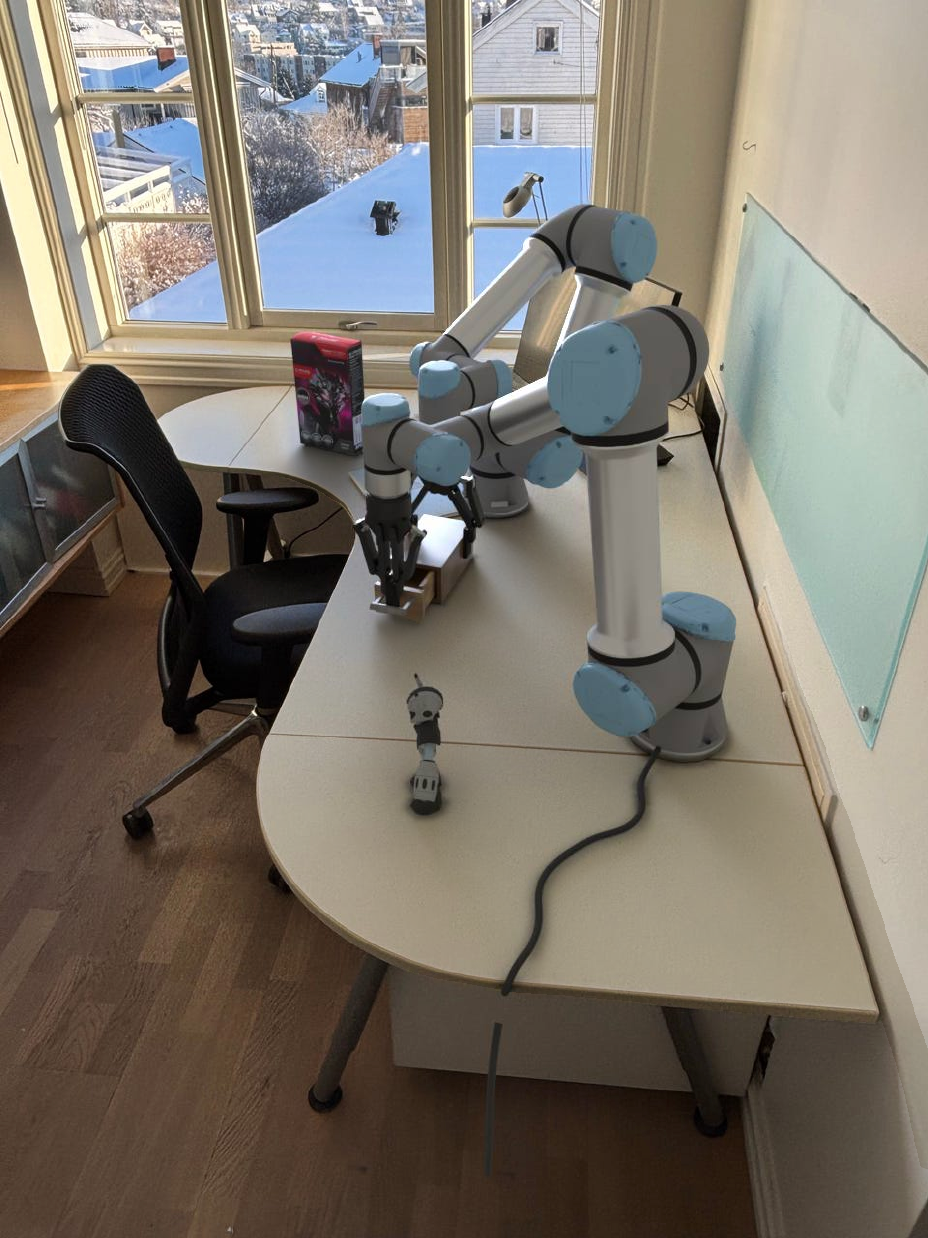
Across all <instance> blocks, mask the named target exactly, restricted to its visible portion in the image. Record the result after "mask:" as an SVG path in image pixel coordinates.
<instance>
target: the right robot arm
mask: <svg viewBox="0 0 928 1238" xmlns="http://www.w3.org/2000/svg"><path fill="white" fill-rule="evenodd" d="M555 350H556V349H555ZM709 360H710V342H709V338H708V335H707V332H706V330H705V328H704V327H703V325H702V323H701V322H700V320H698V318H697V317H696V316H694V314H693V313H691V312H689V311H688V310H686V309H684V308H682V307H679V306H676V305H673V304H672V305H671V304H655V305H650V306H646V307H644V308H641V309H640V310H639V309H638V310H636V311H635V310H634V311H633V312H629V313H626V314H622V315H619V316H614V317H613V318H611V319H608V320H604V321H600V322H599V321H597V322H594V323H593V324H590V325H588V326H587V327H585V328H583V329H581V330H579V331H577V332H575V333H573V334H571V335H570V336H569V337H567V338H566V339H565V340H564V341H563V342H562V343H561V345H560V346H559V348H558V349H557V350H556V352H555V351H554V353H553V355H552V358H551V360H550V363H549V366H548V370H547V373H548V376H547V375H546V376H544V377H543V378H539V379H538V380H536V381H534V382H532V383H530V384H527V385H526V386H523V387H521V388H519V389H517V390H514V391H512V392H511V393H510V394H508V395H506V396H504V397H502V398H500V399H498V400H496V401H493V402H491V403H489V404H487V405H485V406H483V407H480V408H478V409H475V410H473V411H472V410H469V411H467V412H465V413H463V414H460V415H459V416H456V417H454V418H451V419H448V420H445V421H442V422H439V423H437V424H434V425H427V424H424V423H422V422H420V421H417V420H415V419H413V418H410V416H411V409H410V402H409V401H408V399H406V397H405V396H403V395H401V394H397V393H389V392H387V393H386V392H383V393H377V394H373V395H370V396H368V397H365V400H364V401H363V403H362V407H361V424H360V425H361V430H362V444H363V450H362V457H363V473H364V490H365V495H364V496H365V509H366V510H365V511H366V513H365V515H364V517H359V518H358V519H357V520H356V522H354V523H353V525H352V529H353V531H354V532H355V533H356V535H357V537H358V539H359V544H360V546H361V550H362V552H363V556H364V560H365V563H366V565H367V569H368V572H369V574H370V575H372V576H377V577H378V578H379V582H380V586H381V593H382V594H385V597H386V605H390V606H395V607H400V597H401V595H402V594H403V592H404V581H405V582H407V581H408V580H409V579H410V578H411V577H412V575H413V574H414V571H415V567H416V563H417V559H418V555H419V551H420V547H421V543H422V540H423V539H424V538H425V537H426V535H427V531H426V530H424V529H423V530H420V529H418V528H417V527H416V526H415V525H414V520H413V518H412V515H411V512H412V502H413V501H412V489H411V490H410V488H411V472H412V473H414V474H416V475H418V476H420V477H421V478H423V479H425V480H427V481H429V482H431V481H432V482H434V483H437V484H440V485H442V486H451V485H454V484H456V483H457V482H459V480H460V478H461V477H462V476H464V477H465V476H466V474H467V472H469V466H470V463H473V462H475V461H477V460H479V459H482V458H484V457H487V456H490V455H492V454H495V453H498V452H500V451H504V450H506V449H509V448H511V447H513V446H515V445H517V444H519V443H522V442H524V441H527V440H529V439H532V438H534V437H537V436H539V435H542V434H545V433H547V432H550V431H552V430H555V429H557V428H560V427H562V426H564V427H565V428H567V429H568V430H569V431H571V439H572V442H573V443H574V444H575V445H576V446H577V447H579V448H580V449H581V450H582V451H583V454H584V457H585V471H586V485H587V486H586V487H587V499H588V510H589V511H588V512H589V526H590V527H589V529H590V539H591V540H590V541H591V556H592V569H593V580H594V581H593V582H594V583H593V584H594V585H593V586H594V598H595V611H596V613H595V614H596V623H595V624H594V625H593V626H592V627H591V628H590V629H589V631H588V632H587V635H586V644H587V646H586V647H587V662H586V663H583V664H581V665H580V666H579V668H578V670H576V672H575V673H574V675H573V679H572V689H573V694H574V697H575V699H576V701H577V704H578V705H579V707H580V709H581V710H582V711H583V713H584V715H586V716H587V717H588V718H589V719H590V721H591V722H592V723H593V724H595V726H597V727H598V728H600V729H601V730H603V731H605V732H606V733H608V734H611V735H614V736H616V737H620V738H622V737H623V738H630V739H631V741H632V742H634V744H636V745H637V746H638V747H639V748H640V749H641V750H643V751H645V752H646V753H648V754H650V756H649V759H648V760H647V761H646V763H645V765H644V767H643V768H642V769H641V772H640V774H639V777H638V780H637V785H636V786H637V787H636V788H637V798H638V801H637V802H638V807H637V808H638V809H637V811H636V813H635V815H634V816H633V817H632V818H631V819H630V820H628V821H627V822H626V823H624V824H622V825H619V826H617V827H614V828H610V829H607V830H604V831H601V832H596V833H594V834H591V835H589V836H587V837H585V838H583V839H581V840H580V841H578V842H577V843H575V844H574V845H572V846H571V847H569V848H567V849H566V850H564V851H563V852H561V853H560V854H558V855H557V856H556V857H555V858H554V859H552V861H550V863H549V864H548V865H547V866H546V867H545V869H544V870H543V872H542V873H541V874H540V876H539V879H538V881H537V883H536V887H535V891H534V914H535V916H534V926H533V929H532V933H531V935H530V938H529V940H528V941H527V943H526V945H525V947H524V948H523V950H522V951H521V952H520V954H519V955H518V957H517V958H516V959H515V961H514V962H513V964H512V966H511V968H510V969H509V971H508V973H507V976H506V977H505V980H504V983H503V985H502V988H501V991H500V994H501V996H502V997H507V996H509V995H510V992H511V989H512V986H513V985H514V982H515V980H516V977H517V975H518V974H519V971H520V970H521V969H522V967H523V965H524V964H525V962H526V961H527V959H528V958H529V956H530V955H531V953H532V952H533V950H534V948H535V947H536V945H537V943H538V940H539V938H540V935H541V932H542V928H543V922H544V921H543V918H544V907H543V892H544V887H545V885H546V883H547V880H548V878H549V877H550V875H551V874H552V873H553V871H555V869H556V868H557V867H558V866H560V865H561V864H562V863H563V862H564V861H566V860H567V859H568V858H570V857H571V856H573V855H575V854H576V853H578V852H579V851H581V850H583V849H584V848H586V847H588V846H589V845H591V844H593V843H595V842H598V841H601V840H604V839H608V838H611V837H614V836H617V835H620V834H623V833H625V832H627V831H628V832H629V830H631V829H632V828H634V827H635V826H637V824H639V823H640V821H641V820H642V818H643V816H644V814H645V810H646V795H645V782H646V778H647V776H648V773H649V772H650V770H651V769H652V767H653V765H654V764H655V762H656V761H657V759H658V758H659V759H662V760H666V761H670V762H675V763H694V762H700V761H703V760H706V759H709V758H711V757H714V755H716V754H718V752H720V751H721V750H722V748H723V747H724V744H725V743H726V740H727V739H726V738H727V734H728V721H727V716H726V712H725V708H724V707H725V706H724V701H723V692H724V686H725V682H726V678H727V674H728V668H729V664H730V659H731V654H732V651H733V647H734V642H735V640H736V627H737V618H736V616H735V614H734V613H733V611H732V609H731V608H730V607H729V606H727V605H726V604H725V603H723V602H722V601H720V600H719V599H717V598H714V597H712V596H709V595H707V594H702V593H698V592H691V591H670V592H667V593H664V594H663V590H662V589H663V588H662V564H661V561H662V560H661V535H660V533H661V532H660V531H661V530H660V509H659V508H660V507H659V506H660V505H659V503H660V502H659V480H658V452H657V451H658V450H657V448H658V446H659V445H660V444H661V443H662V441H663V440H664V439H666V437H668V435H669V433H670V432H669V431H670V427H669V426H670V425H669V419H670V418H669V404H670V403H672V402H675V401H677V400H679V399H680V398H682V397H684V396H686V395H687V394H689V392H690V391H692V390H693V389H694V388H695V387H696V386H697V385H698V383H700V381H701V380H702V379H703V376H704V374H705V373H706V371H707V367H708V364H709ZM418 476H417V477H418ZM409 532H410V533H411V536H410V538H411V539H410V540H411V541H412V543H411V545H410V547H409V552H408V556H407V560H406V564H405V568H404V544H403V543H404V538H405V537H406V536H407V535H408V533H409ZM373 535H374V536H375V540H374V536H373ZM376 546H377V547H376ZM391 554H392V569H391V564H390V555H391ZM391 571H392V574H390V572H391ZM502 1030H503V1023H500V1022H494V1025H493V1031H492V1038H491V1043H490V1045H491V1046H490V1053H489V1061H488V1071H487V1083H486V1084H487V1085H486V1107H485V1108H486V1109H485V1112H486V1113H485V1149H484V1150H485V1153H484V1172H483V1173H484V1176H485V1177H491V1175H492V1168H493V1147H494V1146H493V1145H494V1118H495V1117H494V1116H495V1115H494V1114H495V1092H496V1091H495V1090H496V1079H497V1078H496V1077H497V1068H498V1067H497V1066H498V1059H499V1058H498V1057H499V1051H500V1043H501V1037H502V1036H501V1035H502Z"/></svg>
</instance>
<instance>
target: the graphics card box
mask: <svg viewBox="0 0 928 1238" xmlns="http://www.w3.org/2000/svg"><path fill="white" fill-rule="evenodd" d="M289 340H290V341H289V342H290V350H291V359H292V360H291V361H292V371H293V378H294V379H293V380H294V390H295V401H296V402H295V403H296V411H297V423H298V424H297V425H298V433H299V443H300V444H302V445H304V446H305V445H306V446H310V447H315V448H320V449H324V450H328V451H332V452H336V453H341V454H346V455H351V456H356V455H357V454H359V453H361V452H363V444H362V430H361V425H360V424H361V407H362V403H363V401H364V400H365V399H366V397H365V379H364V361H363V342H362V340H361V339H354V338H353V339H352V338H347V337H341V336H336V335H330V334H325V333H320V332H315V331H309V330H303V331H300V332H298V333H295V335H293V336H292V337H291V338H290V339H289Z"/></svg>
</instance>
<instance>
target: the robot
mask: <svg viewBox="0 0 928 1238" xmlns="http://www.w3.org/2000/svg"><path fill="white" fill-rule="evenodd" d="M413 677H414V680H415V682H416V685H417V687H416V688H415V689H413V690H412V691H411V692H410V693H408V695H407V697H406V699H405V702H406V705H407V706H406V709H407V710H408V712H409V723H410V724H411V725H412V727H413V729H414V733H416V750H417V751H418V753H419V755H420V761H419V764H418V767H417V768H416V771H415V773H414V774H413V775H412V777H411V778H410V781H409V783H410V785H411V787H412V789H413V790H412V791H413V792H412V793H413V798H412V800H411V802H410V805H409V807H410V808H411V810H413V811H414V812H415V813H416V814H419V815H423V816H424V815H431V814H432V813H435V812H437V811H439V810H440V809H441V806H442V803H443V798H442V796H443V795H442V792H441V789H440V787H441V786H442V777H441V773H440V770H439V766H438V763H437V762H436V760H435V757H436V755H437V746H441V743H442V737H441V730H440V726H439V719H440V718H441V716H440V711H441V710H442V709H443V708H444V707H443V706H444V696H443V695H442V692H441V691H439V690H438V688H435V687H433V686H431V685H424V684H423V682H422V680H421V678H420V677H419V675H418V673H414V674H413Z"/></svg>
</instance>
